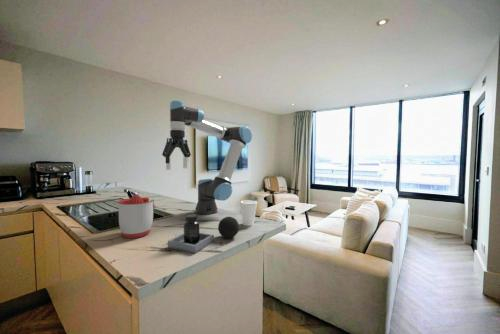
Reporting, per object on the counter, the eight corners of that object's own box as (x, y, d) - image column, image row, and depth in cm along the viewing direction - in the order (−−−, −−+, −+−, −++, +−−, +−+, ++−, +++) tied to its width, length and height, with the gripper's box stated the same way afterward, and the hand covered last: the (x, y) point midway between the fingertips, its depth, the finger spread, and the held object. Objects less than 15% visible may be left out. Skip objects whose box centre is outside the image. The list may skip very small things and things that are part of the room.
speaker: (213, 238, 104) (213, 217, 104) (227, 232, 113) (227, 213, 112) (229, 243, 99) (230, 221, 98) (242, 236, 107) (243, 216, 106)
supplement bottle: (201, 240, 100) (201, 214, 99) (196, 246, 93) (196, 218, 92) (187, 239, 100) (187, 213, 100) (181, 245, 94) (180, 217, 93)
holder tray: (188, 236, 106) (188, 230, 106) (213, 241, 101) (213, 234, 100) (167, 247, 93) (167, 240, 93) (195, 253, 88) (195, 246, 87)
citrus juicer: (162, 233, 110) (162, 193, 109) (124, 243, 97) (124, 198, 96) (149, 226, 120) (149, 190, 119) (113, 234, 107) (112, 194, 106)
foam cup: (250, 227, 120) (251, 204, 119) (237, 224, 125) (237, 202, 124) (259, 223, 128) (259, 201, 127) (246, 220, 133) (246, 199, 132)
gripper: (186, 132, 132) (186, 167, 133) (154, 127, 109) (154, 169, 110) (196, 132, 129) (196, 168, 130) (166, 127, 106) (166, 170, 107)
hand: (177, 169), depth 120 cm, fingers open, 13 cm apart
